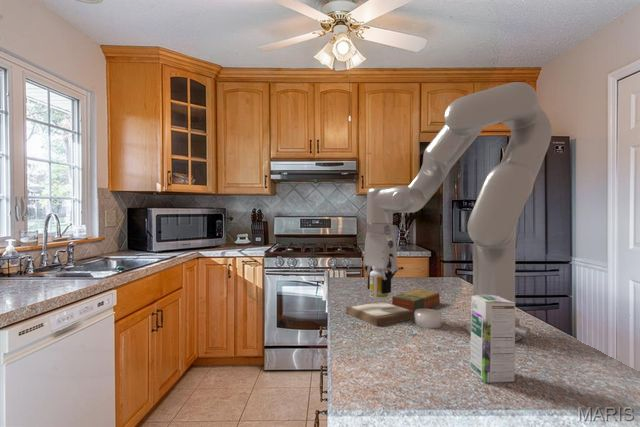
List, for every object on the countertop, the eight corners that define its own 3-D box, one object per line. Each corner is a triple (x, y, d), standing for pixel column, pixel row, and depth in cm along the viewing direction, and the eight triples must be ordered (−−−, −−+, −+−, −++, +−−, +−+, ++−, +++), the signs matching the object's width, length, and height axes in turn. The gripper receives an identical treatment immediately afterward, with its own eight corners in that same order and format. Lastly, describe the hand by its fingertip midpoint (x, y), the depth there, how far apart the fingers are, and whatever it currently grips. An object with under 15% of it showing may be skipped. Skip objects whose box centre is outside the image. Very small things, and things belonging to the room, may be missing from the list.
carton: (440, 304, 121) (440, 291, 121) (414, 314, 109) (414, 300, 109) (418, 300, 127) (418, 288, 127) (391, 308, 115) (391, 295, 115)
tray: (414, 318, 104) (414, 310, 104) (376, 326, 97) (376, 317, 97) (382, 307, 116) (381, 300, 116) (346, 313, 108) (346, 306, 108)
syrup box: (469, 369, 70) (469, 294, 70) (498, 368, 70) (498, 294, 70) (484, 383, 64) (484, 302, 64) (516, 382, 64) (516, 301, 64)
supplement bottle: (390, 296, 107) (391, 264, 107) (383, 300, 102) (384, 266, 102) (374, 294, 110) (374, 262, 110) (366, 297, 105) (366, 264, 105)
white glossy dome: (447, 326, 97) (447, 313, 97) (428, 330, 93) (428, 317, 93) (427, 319, 103) (427, 307, 103) (409, 323, 99) (409, 310, 99)
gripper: (410, 230, 101) (409, 295, 101) (370, 228, 115) (370, 284, 116) (389, 231, 97) (389, 298, 97) (352, 228, 112) (351, 286, 112)
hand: (379, 290), depth 106 cm, fingers closed on supplement bottle, 5 cm apart
